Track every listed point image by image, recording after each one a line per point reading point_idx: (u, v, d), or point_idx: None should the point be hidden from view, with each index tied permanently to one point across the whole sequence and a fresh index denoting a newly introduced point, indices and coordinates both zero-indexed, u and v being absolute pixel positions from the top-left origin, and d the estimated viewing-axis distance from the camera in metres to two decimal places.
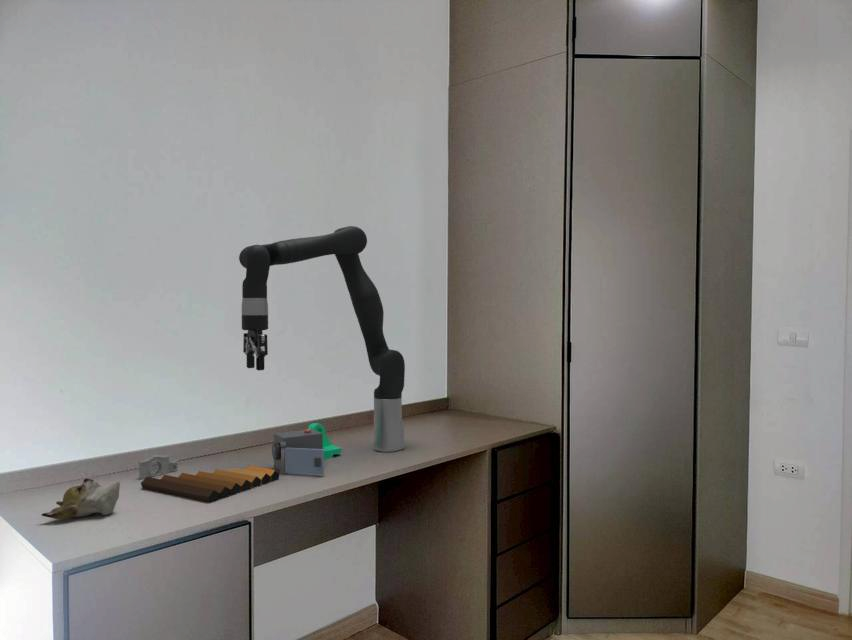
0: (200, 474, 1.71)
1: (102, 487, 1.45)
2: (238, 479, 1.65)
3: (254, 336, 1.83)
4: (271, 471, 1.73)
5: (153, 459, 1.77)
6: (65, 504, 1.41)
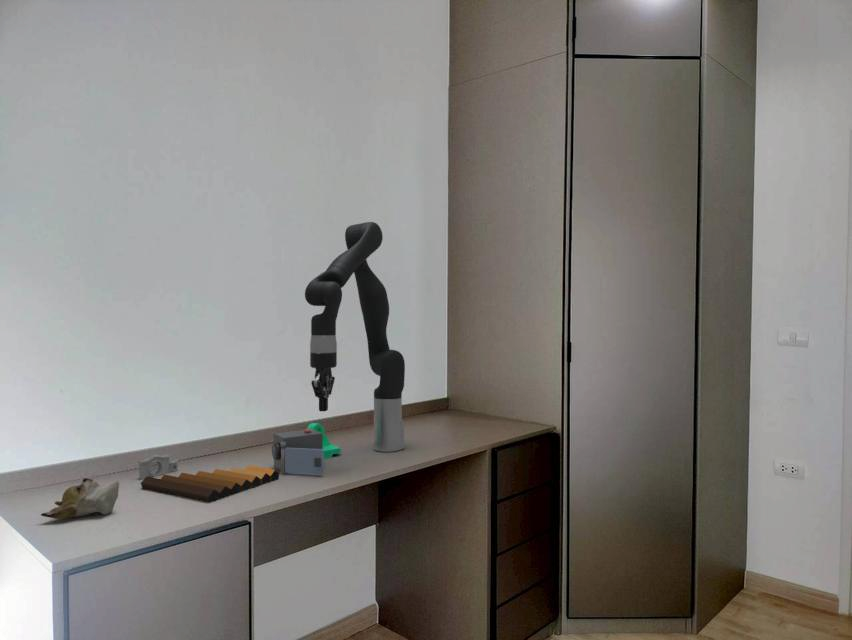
0: (200, 474, 1.71)
1: (101, 487, 1.45)
2: (238, 479, 1.65)
3: (330, 371, 1.85)
4: (271, 471, 1.73)
5: (153, 459, 1.77)
6: (64, 504, 1.41)
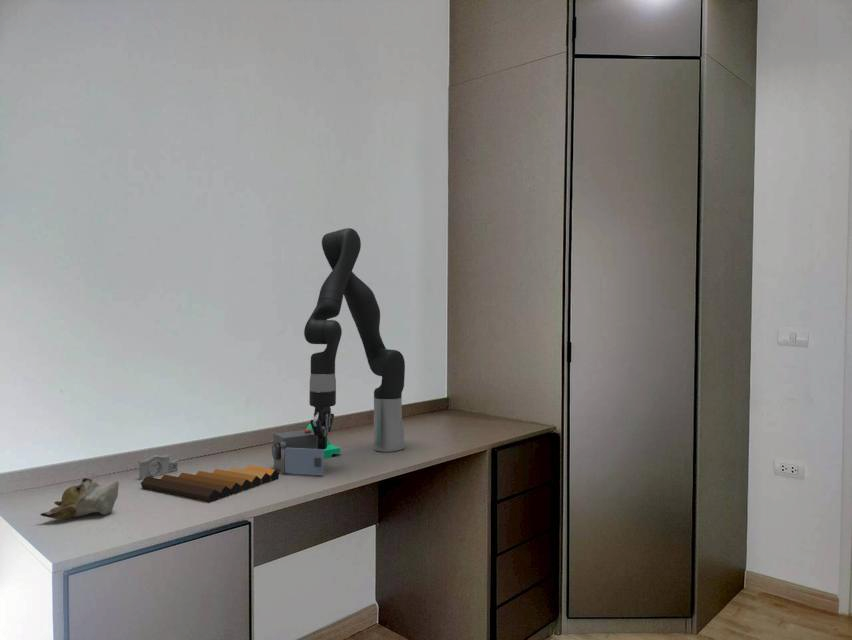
0: (200, 474, 1.71)
1: (101, 487, 1.45)
2: (238, 479, 1.65)
3: (329, 409, 1.86)
4: (271, 471, 1.74)
5: (153, 459, 1.77)
6: (64, 504, 1.41)
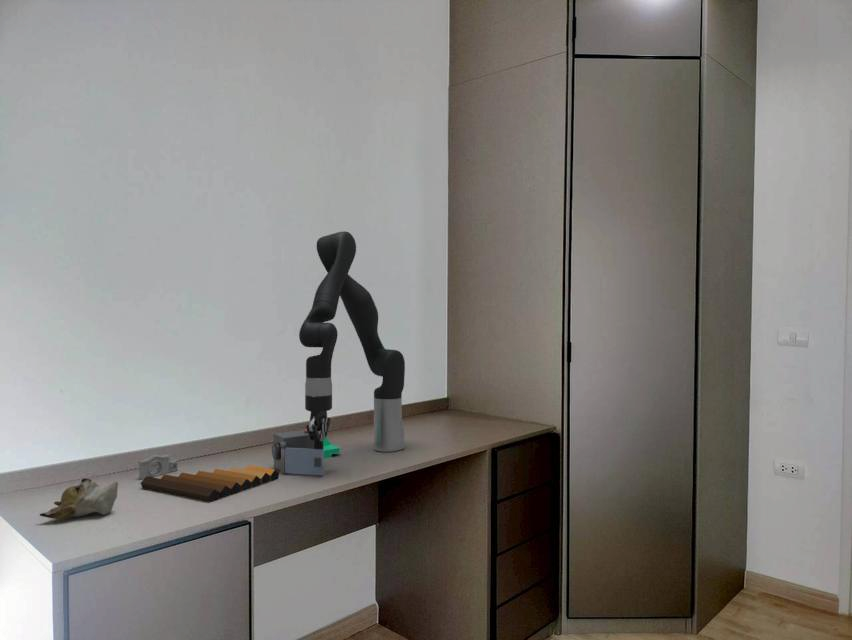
0: (200, 474, 1.71)
1: (100, 487, 1.45)
2: (238, 478, 1.65)
3: (326, 413, 1.82)
4: (271, 471, 1.74)
5: (153, 459, 1.77)
6: (63, 504, 1.41)
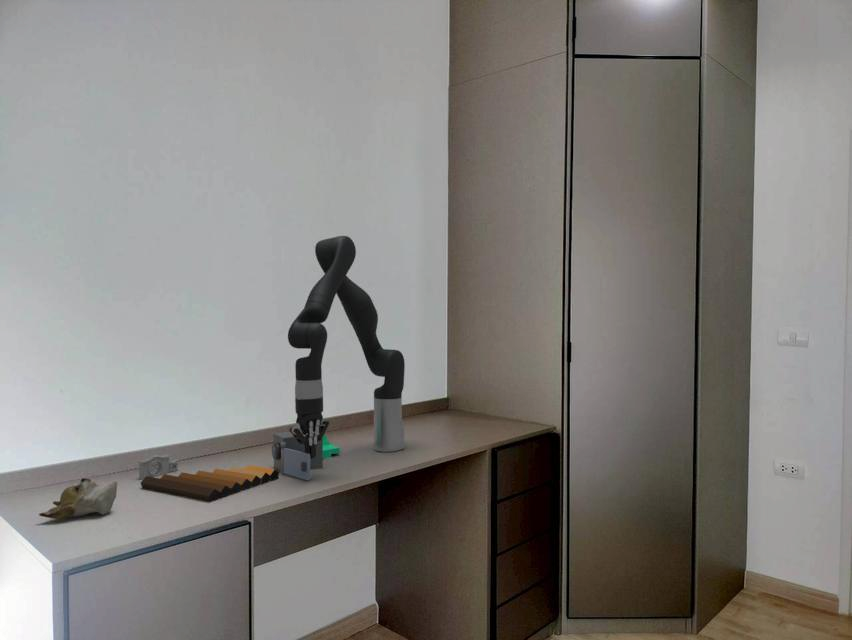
0: (200, 473, 1.72)
1: (99, 487, 1.45)
2: (238, 478, 1.65)
3: (320, 417, 1.76)
4: (270, 470, 1.74)
5: (153, 459, 1.77)
6: (63, 504, 1.41)
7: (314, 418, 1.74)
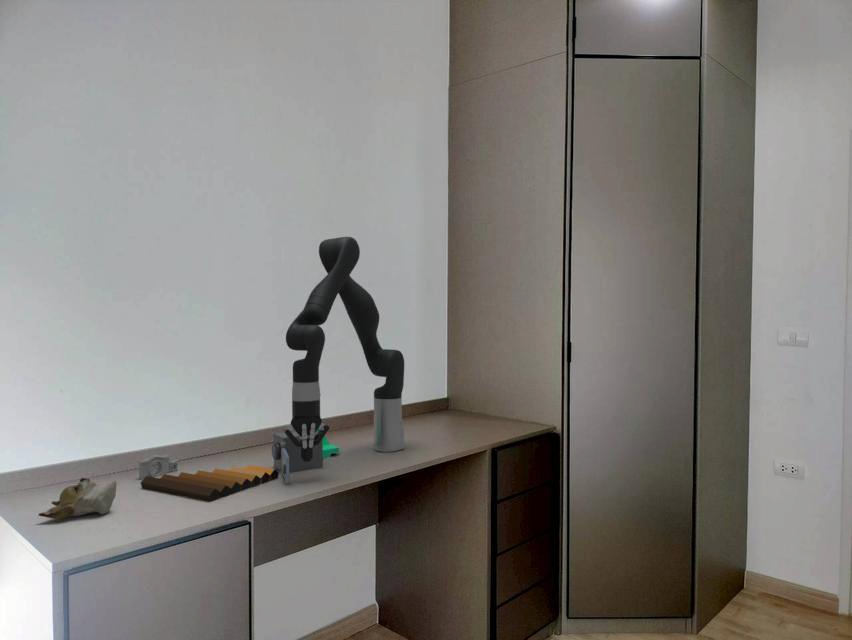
0: (199, 473, 1.72)
1: (99, 486, 1.45)
2: (238, 478, 1.66)
3: (317, 420, 1.74)
4: (270, 470, 1.74)
5: (153, 459, 1.77)
6: (62, 504, 1.41)
7: (310, 421, 1.73)
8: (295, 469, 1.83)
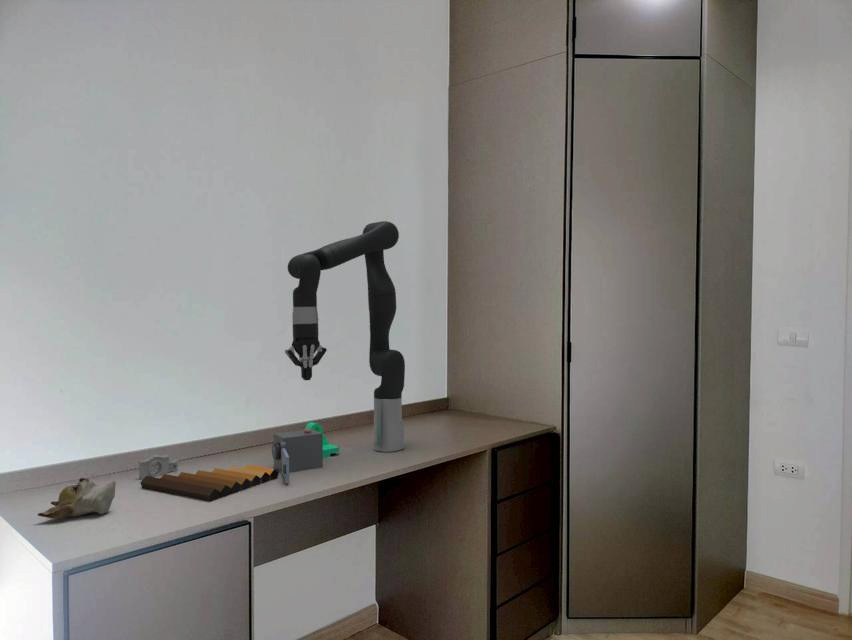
0: (199, 473, 1.72)
1: (98, 486, 1.45)
2: (238, 478, 1.66)
3: (316, 342, 1.90)
4: (270, 470, 1.74)
5: (153, 459, 1.77)
6: (61, 504, 1.41)
7: (309, 343, 1.89)
8: (295, 469, 1.83)
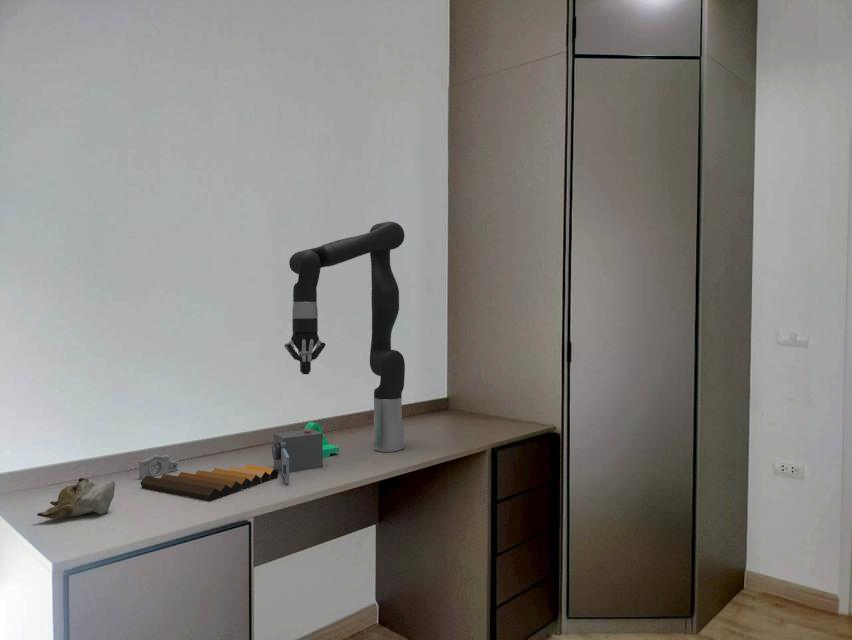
0: (199, 473, 1.72)
1: (97, 486, 1.45)
2: (238, 477, 1.66)
3: (315, 337, 1.93)
4: (270, 470, 1.75)
5: (153, 459, 1.77)
6: (60, 504, 1.41)
7: (308, 337, 1.92)
8: (295, 469, 1.83)
